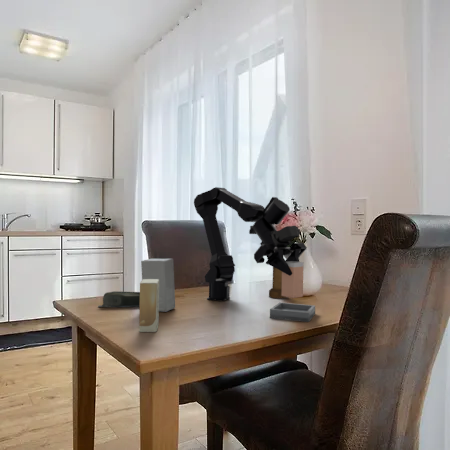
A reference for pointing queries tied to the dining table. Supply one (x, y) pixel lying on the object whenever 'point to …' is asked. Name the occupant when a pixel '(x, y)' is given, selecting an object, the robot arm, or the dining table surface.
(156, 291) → the skincare box
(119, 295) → the black stapler
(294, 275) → the grey-topped peach block
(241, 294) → the dining table surface
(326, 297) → the dining table surface
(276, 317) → the tray
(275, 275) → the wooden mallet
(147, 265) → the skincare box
